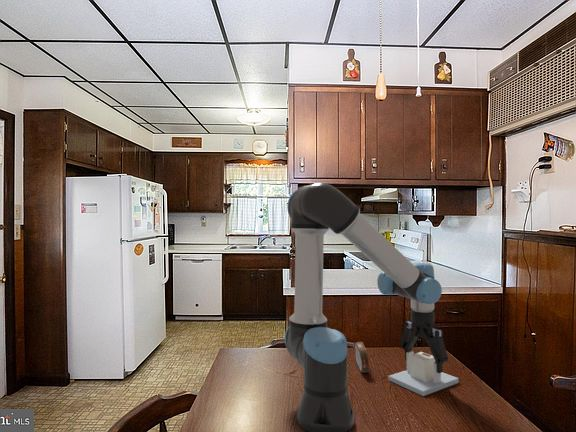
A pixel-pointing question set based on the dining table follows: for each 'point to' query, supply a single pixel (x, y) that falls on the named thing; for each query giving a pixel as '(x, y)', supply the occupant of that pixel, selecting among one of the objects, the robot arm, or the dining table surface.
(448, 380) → the panel
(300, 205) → the robot arm
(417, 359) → the cream box with handle
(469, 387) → the dining table surface
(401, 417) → the dining table surface
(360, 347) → the tin
